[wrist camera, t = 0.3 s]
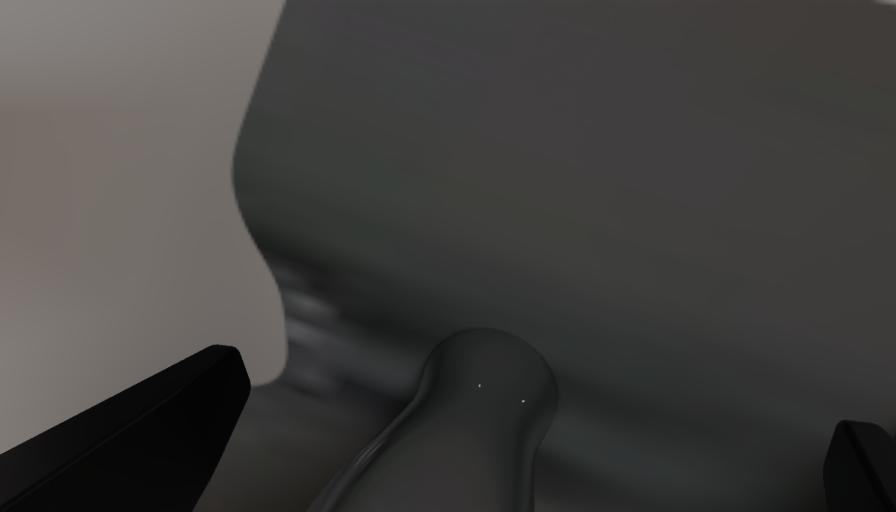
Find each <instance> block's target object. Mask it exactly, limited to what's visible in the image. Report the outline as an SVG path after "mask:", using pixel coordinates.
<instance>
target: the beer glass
mask: <svg viewBox="0 0 896 512" xmlns="http://www.w3.org/2000/svg"><path fill="white" fill-rule="evenodd" d="M557 403H558V395H557V388H556V383H555V380H554V377H553V375H552V372H551V370H550V368H549V367H548V365H547V364H546V362H545V361H544V359H543V358H542V357H541V356H540V355H539V354H538V352H536V351H535V350H534V349H533V348H532V347H531V346H530V345H528V344H527V343H525V342H524V341H522V340H521V339H519V338H517V337H515V336H513V335H510V334H508V333H505V332H502V331H498V330H492V329H472V330H467V331H463V332H460V333H457V334H455V335H453V336H451V337H449V338H447V339H446V340H444V341H443V342H442V343H441V344H440V345H438V347H437V348H436V349H435V350H434V351H433V353H432V354H431V356H430V357H429V359H428V361H427V363H426V366H425V369H424V371H423V375H422V378H421V382H420V385H419V389H418V391H417V394H416V395H415V397H414V399H413V400H412V401H411V402H410V404H409V405H408V406H407V407H406V408H404V409H403V410H402V411H401V412H400V413H399V414H398V415H397V416H396V417H395V418H393V419H392V420H391V421H390V422H389V423H388V424H387V425H385V426H384V427H383V428H382V429H381V430H380V431H379V432H378V433H376V434H375V435H374V436H373V437H372V438H371V439H370V440H369V441H367V442H366V443H365V444H364V445H363V446H362V447H361V448H360V449H359V450H358V451H357V452H356V453H355V454H354V455H353V456H352V457H351V458H350V459H349V460H348V461H347V462H346V463H345V464H344V465H343V466H342V467H341V468H340V469H339V470H338V471H337V472H336V473H335V474H334V475H333V476H332V478H331V479H330V480H329V481H328V483H327V484H326V485H325V487H324V488H323V489H322V490H321V492H320V493H319V494H318V496H317V497H316V498H315V499H314V501H313V502H312V503H311V504H310V506H309V507H308V508H307V510H306V511H305V512H535V499H534V461H535V455H536V452H537V449H538V447H539V445H540V444H541V442H542V441H543V439H544V437H545V436H546V434H547V432H548V431H549V429H550V427H551V425H552V423H553V420H554V417H555V414H556V410H557Z"/></svg>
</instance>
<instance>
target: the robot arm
mask: <svg viewBox="0 0 896 512" xmlns="http://www.w3.org/2000/svg"><path fill="white" fill-rule="evenodd" d="M250 389H251V383H250V379H249V377H248V374H247V371H246V368H245V365H244V362H243V360H242V357H241V355H240V352H239V350H237V348H236V347H233V346H226V345H218V344H217V345H211V346H209V347H207V348H205V349H203V350H201V351H199V352H197V353H195V354H193V355H191V356H189V357H187V358H185V359H184V360H182V361H180V362H178V363H176V364H174V365H172V366H170V367H168V368H166V369H165V370H162V371H161V372H159V373H157V374H155V375H153V376H151V377H149V378H147V379H145V380H143V381H141V382H139V383H137V384H135V385H133V386H131V387H129V388H128V389H126V390H124V391H122V392H120V393H118V394H116V395H114V396H112V397H110V398H108V399H106V400H105V401H102V402H101V403H99V404H97V405H95V406H93V407H91V408H89V409H87V410H85V411H83V412H81V413H79V414H78V415H76V416H73V417H72V418H70V419H68V420H66V421H64V422H62V423H60V424H58V425H56V426H54V427H52V428H50V429H48V430H47V431H45V432H43V433H41V434H39V435H37V436H35V437H33V438H31V439H29V440H27V441H25V442H23V443H22V444H19V445H17V446H16V447H14V448H12V449H10V450H8V451H6V452H4V453H2V454H0V512H192V511H193V509H194V507H195V506H196V504H197V502H198V500H199V499H200V497H201V495H202V493H203V492H204V490H205V488H206V486H207V485H208V483H209V481H210V479H211V477H212V475H213V473H214V471H215V469H216V467H217V465H218V463H219V461H220V459H221V457H222V454H223V452H224V450H225V448H226V446H227V443H228V441H229V439H230V437H231V435H232V432H233V430H234V428H235V426H236V424H237V421H238V419H239V417H240V415H241V413H242V411H243V408H244V406H245V404H246V402H247V400H248V397H249V394H250ZM823 479H824V487H825V494H826V500H827V507H828V512H896V440H895V439H894V438H893V437H892V436H891V435H890V434H888V433H887V432H886V431H885V430H884V429H883V428H882V427H880V426H879V425H877V424H874V423H868V422H860V421H852V420H842V421H840V422H839V423H838V424H837V426H836V428H835V431H834V434H833V437H832V440H831V443H830V446H829V449H828V452H827V455H826V458H825V462H824V467H823Z"/></svg>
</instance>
